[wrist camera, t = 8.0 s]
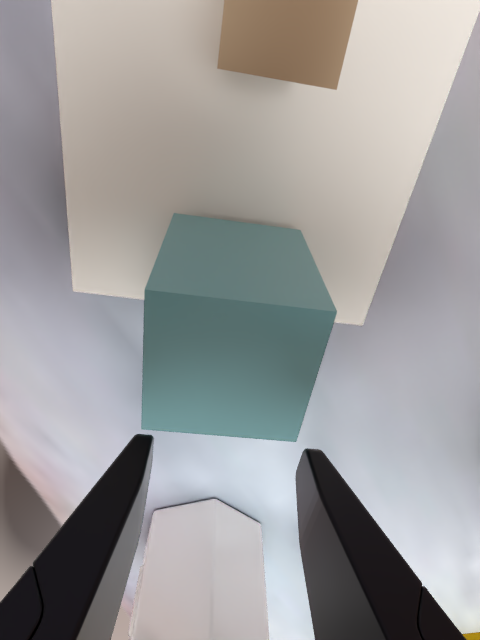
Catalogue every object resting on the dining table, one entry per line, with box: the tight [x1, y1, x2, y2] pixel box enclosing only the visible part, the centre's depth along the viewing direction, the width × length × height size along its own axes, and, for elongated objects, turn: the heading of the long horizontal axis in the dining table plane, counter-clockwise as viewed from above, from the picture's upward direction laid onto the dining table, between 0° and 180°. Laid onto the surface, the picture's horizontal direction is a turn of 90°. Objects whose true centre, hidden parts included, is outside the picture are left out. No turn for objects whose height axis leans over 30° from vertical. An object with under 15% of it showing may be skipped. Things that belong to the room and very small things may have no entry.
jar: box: [128, 499, 269, 640], centre depth 25 cm, size 9×8×12 cm
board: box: [51, 0, 480, 326], centre depth 16 cm, size 14×13×1 cm
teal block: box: [141, 213, 337, 442], centre depth 15 cm, size 5×5×7 cm
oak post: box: [217, 0, 358, 90], centre depth 11 cm, size 3×3×7 cm
